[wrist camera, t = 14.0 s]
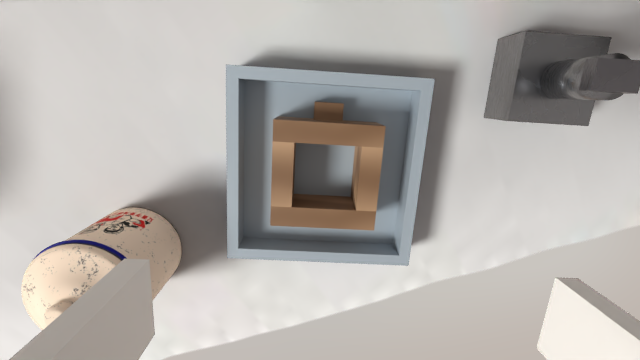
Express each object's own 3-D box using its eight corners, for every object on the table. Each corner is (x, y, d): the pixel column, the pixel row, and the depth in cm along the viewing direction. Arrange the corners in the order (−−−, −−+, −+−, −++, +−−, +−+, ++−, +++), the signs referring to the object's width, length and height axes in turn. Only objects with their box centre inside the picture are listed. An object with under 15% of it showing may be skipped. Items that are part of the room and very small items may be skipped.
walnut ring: (366, 214, 33) (374, 230, 29) (274, 209, 32) (270, 225, 28) (377, 105, 30) (387, 107, 26) (278, 99, 30) (273, 99, 26)
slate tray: (421, 80, 31) (434, 78, 27) (398, 249, 35) (408, 265, 31) (235, 67, 30) (225, 64, 27) (235, 241, 34) (227, 257, 31)
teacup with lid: (162, 192, 33) (85, 243, 21) (199, 271, 35) (146, 355, 24) (51, 228, 33) (-82, 297, 22) (94, 303, 35) (-7, 401, 24)
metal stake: (572, 44, 30) (696, 21, 21) (554, 122, 32) (660, 134, 22) (497, 39, 30) (587, 12, 20) (483, 117, 32) (560, 127, 22)
